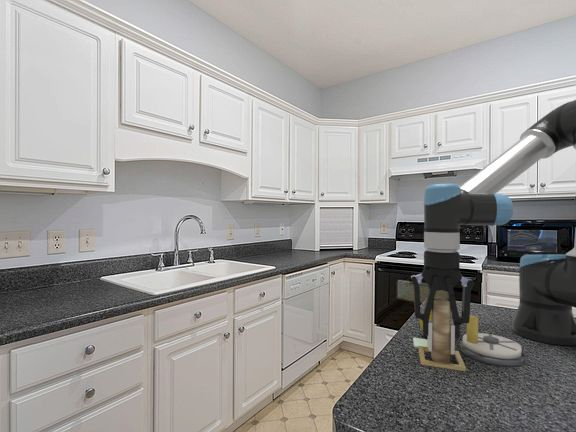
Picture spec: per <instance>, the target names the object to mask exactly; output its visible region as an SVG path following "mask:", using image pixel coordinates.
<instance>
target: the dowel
mask: <svg viewBox="0 0 576 432" xmlns="http://www.w3.org/2000/svg"><path fill="white" fill-rule="evenodd" d="M451 318H452V314H451V306H450V301H449V299H448V297H439V296H435V297H434V301H433V305H432V318H431V321H432V351H431V352H430V353H431V354H430V357H431V361H437V362H443V363H451V355H450V322H451Z"/></svg>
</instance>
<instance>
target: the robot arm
mask: <svg viewBox="0 0 576 432" xmlns="http://www.w3.org/2000/svg"><path fill="white" fill-rule="evenodd" d="M570 147H572V148H574V150H576V99H574V100H572V101H568V102H566V103H563V104H561V105H560V106H558V107H556V108H554V109H552V110H551V111H550V112H548V113H547V114H545V115H544V116H542V117H541V118H540V119H539V120H538V121H536V122H535V123H533V125H531V126H530V127H528V128H527V129H526V130H525V131H523V132H522V133H521V134H520V137H519V140H518V141H516V142H515V143H514V144H513V145H511V146H510V147H508V148H507V149H506V150H504V151H503V152H502V153H501V154H499V155H498V156H497V157H496V158H494V159H493V160H491V162H490V163H488V164H486V166H484V167H482V168H481V169H480V170H479V171H478V172H476V173H475V174H474V175H472V176H471V177H470V178H468V179H467V180H465V182H463V183H462V184H460V185H459V184H457V183H435V184H434V183H433V184H430V185H426V188H425V190H424V198H423V206H424V207H423V209H424V213H423V214H424V216H423V217H424V218H423V219H424V220H423V222H424V223H423V224H424V226H423V228H424V229H423V230H424V232H423V248H424V249H426V250H424V252H423V269H422V271H421V273H419V274H416V275H415V274H412V275H411V276H410V280H411V283H412V286H413V300H414V301H413V302H414V303H413V305H414V307H413V308H414V316H415V318H416V319H419V320H420V319H421V320H422V321H423V331H422V333H423V335H424V336H427V339H428V351H432V321H431V320H429V318H430V314H431V309H432V305H433V301H434V297H436V296H435V295H436V293H437V292H439V291H443V292H446V294H447V299H449V301H450V306H451V318H452V321H450V353H451V354H455V351H456V349H455V347H456V345H455V343H456V342H455V341H456V340H460V337H461V325H463V324H465V325H467V324H468V323H469V319H470V314H471V297H472V290H473V288H474V286H475V281H473V279H471V278H467V277H466V276H463V275H462V273H461V271H460V268H461V267H460V260H461V259H460V257H461V256H460V255H461V254H460V253H459V252H458V250H460V249H461V246H460V245H461V243H460V241H461V240H460V239H461V238H460V232H461V231H460V229H461V226H490V227H494V226H503V225H506V224H507V223H509V222H510V221H511V219H512V217H513V215H514V203H513V202H512V199H511V198H510V197H509V196H508V195H506V194H502V193H499V192H500V191H502V189H504V188H505V187H506V186H507V185H509V184H510V183H512V182H513V181H514V180H515V179H517V178H519V176H521V175H522V174H523V173H524V172H526V171H528V170H529V169H530V168H531V167H532V166H534V165H535V164H537V162H539V161H540V160H542V159H548V158H550V157H552V156H553V155H554V154H555V153H558V152H559V151H562V150H564V149H566V148H570ZM574 231H575V232H574V244H573V245H574V247H573V248H572V249H571V250H569V251H568V252H566V253H565V254H558V253H557V254H551V253H550V254H523V255H522V256H521V257H520V259H519V267H518V269H519V270H518V273H519V277H518V278H519V281H518V282H519V284H518V285H519V291H518V292H519V302H518V303H519V304H518V307H517V309H516V312H515V314H514V316H513V319H512V321H511V330H512V331H513V333H515V334H517V335H519V336H522V337H523V338H526V339H529V340H532V341H536V342H541V343H546V344H552V345H559V346H576V319H575V316H574V314H573V308H576V228H575V230H574ZM422 280H424V281H425V283H426V284H427V286H429V287H428V291H427V296H426V300H425V304H424V309H423V311H422V312H421V289H420V285H421V284H422ZM460 282H461V286H462V287H463V288H462V298H461V316H459V311H458V306H457V302H456V301H457V300H456V296H455V290H454V289H455V287H456V286H457V285H459V283H460Z"/></svg>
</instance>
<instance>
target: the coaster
mask: <svg viewBox="0 0 576 432" xmlns="http://www.w3.org/2000/svg"><path fill="white" fill-rule="evenodd" d="M412 342H413V348H415V349H418V346H424V347H428V338H427V339H426V338H420V337H419V338H418V337H412Z"/></svg>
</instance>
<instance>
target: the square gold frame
mask: <svg viewBox="0 0 576 432" xmlns="http://www.w3.org/2000/svg"><path fill="white" fill-rule="evenodd" d="M417 349H418V355H419V362H420V365H421V366H422V365H423V366H428V367H434V368H440V369H448V370H454V371H461V372H467V367H466V364H465V362H464V360H463V358H462V356H461V353H460V351H459V350H455V354H451V353H450V356H454V358H455V360H456V363H457V364H455V363H451V362H449V363H443V362H437V361H434V360H430V359H429V360H428V359H426V358H425V357H426V356H425V352H427V353H428V352H429V353H431V351H428V347H424V346H418V348H417Z"/></svg>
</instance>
